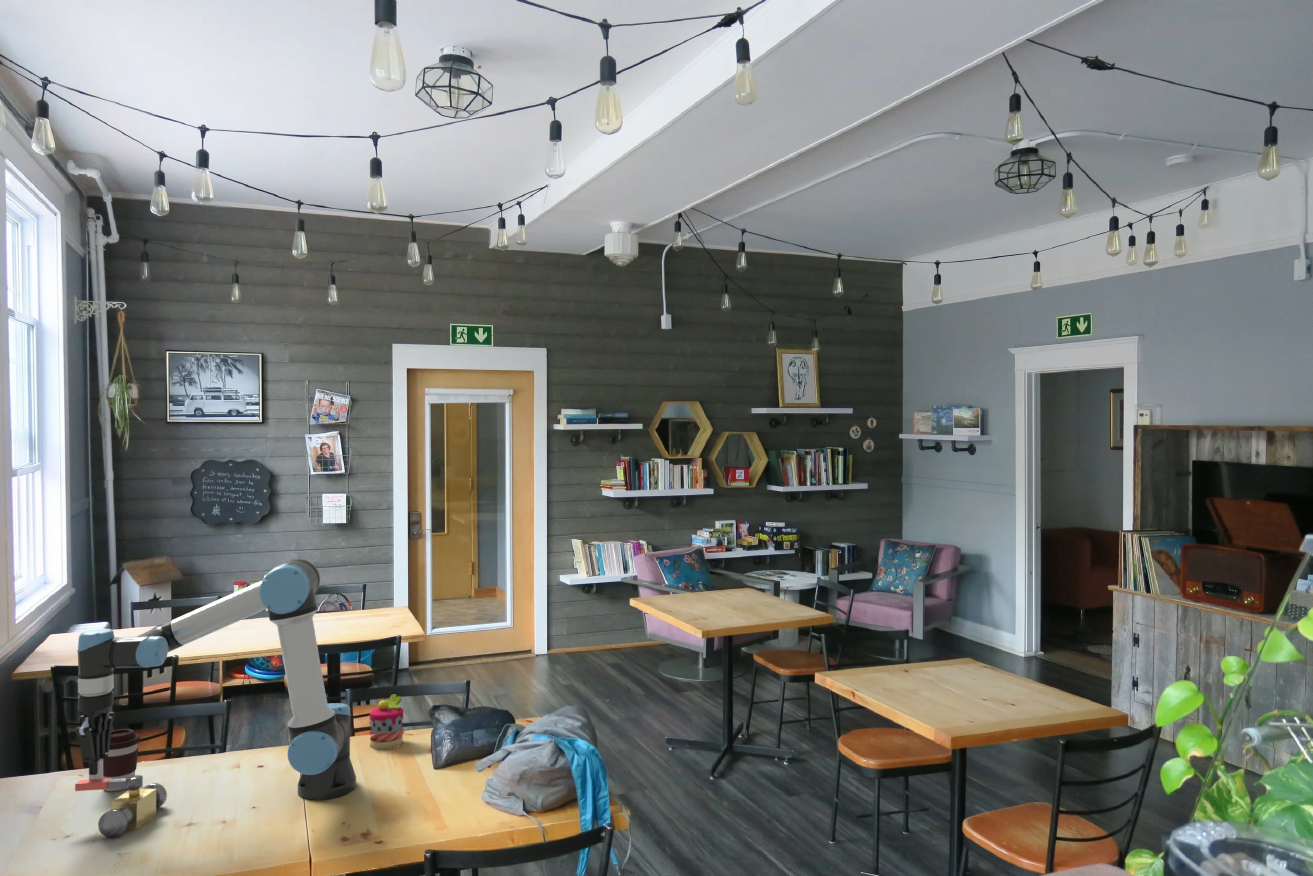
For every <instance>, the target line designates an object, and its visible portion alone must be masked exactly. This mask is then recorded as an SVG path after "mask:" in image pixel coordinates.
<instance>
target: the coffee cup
mask: <svg viewBox="0 0 1313 876" xmlns="http://www.w3.org/2000/svg"><path fill="white" fill-rule="evenodd" d="M139 743H141V734H139V733H137V732H135V730H134V729H131V728H120V729H115V730H112V732H111V739H110V747H109V752H108V753H105V754H108V757H107V758H103V779H108V778H111V779H120V778H128V777H130V776H135V775H136V770H137V766H138V757H139V756H138V755H139V754H138V753H139V747H138V745H139ZM103 790H104V791H105V792H119V791H120V792H121V791H124V790H127V789H126V787H125V788H109V789H103Z"/></svg>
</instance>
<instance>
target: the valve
mask: <svg viewBox="0 0 1313 876" xmlns="http://www.w3.org/2000/svg"><path fill="white" fill-rule="evenodd" d="M167 798H168V793H167V790H166V788H165V786H164V785H162V784H160V783H157V782H152V783H149V784H147V785H146V786H145V787H143V788H141V787H140V788H137V789H132V790H127V791H125V792H124V793H122V794H121V795H119V796H118V797H116V798H115V799H113V800H112V801H110V802H111V803H110V809H109V810H107V811H106V812H104V813H103V814H101V816H100V817H99V820H98V825H97V826H98V831H99V833H100V834H101V835H102V836H103V837H104V838H108V839H115V838H117V837H119V836H121V835H123V834H124V833H125V832H126V831H127V830H138V829H139V828H141V827H142V826H144V825H145V824H146V823H148V822H149V821H151V820H152V819H153V818H155V817H156V816H157V810H158V809H159V808H160V807H162V806H163V805H164V804H165V803H166V801H167Z"/></svg>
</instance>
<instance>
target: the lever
mask: <svg viewBox="0 0 1313 876" xmlns="http://www.w3.org/2000/svg"><path fill="white" fill-rule="evenodd" d="M143 778H144V777H143V775H142V774H139V775H138V774H137V775H136V774H135V776H130V777H128V778H120V779H111V778H108V779H91V780H89V779H80V780H78V781H77V782H76V783H74V790H75V792H83V791H84V792H85V791H102V790H104V789H109V788H125V787H126V789H125V790H127V791H129V790H132V789H137V788H140V789H141V788H142V787H143V785H144V782H143V781H144V779H143Z"/></svg>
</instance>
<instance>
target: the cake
mask: <svg viewBox="0 0 1313 876" xmlns="http://www.w3.org/2000/svg"><path fill="white" fill-rule="evenodd" d="M401 701H402V696H397V694H391V695H390V697H389V699H384V700H380V701H379V702H378V705H377V707H374V708H372V709H371V710H370V711H369V720H370V721H369V727H370V729H369V731H368V734H369V735H370V737H369V747H370V748H371V749H372V748H373V750H378V751H387V750H391V749H390V748H393V749H395V748H394V747H396V748H398V747H397V746H399V745H400V746H402V745H403V735H404V733H405V729H404V727H403V726H404V723H403V721H404V708H403V707H402V706H401V705H400V703H401ZM401 744H402V745H401ZM400 746H399V747H400ZM386 749H387V750H386Z"/></svg>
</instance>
